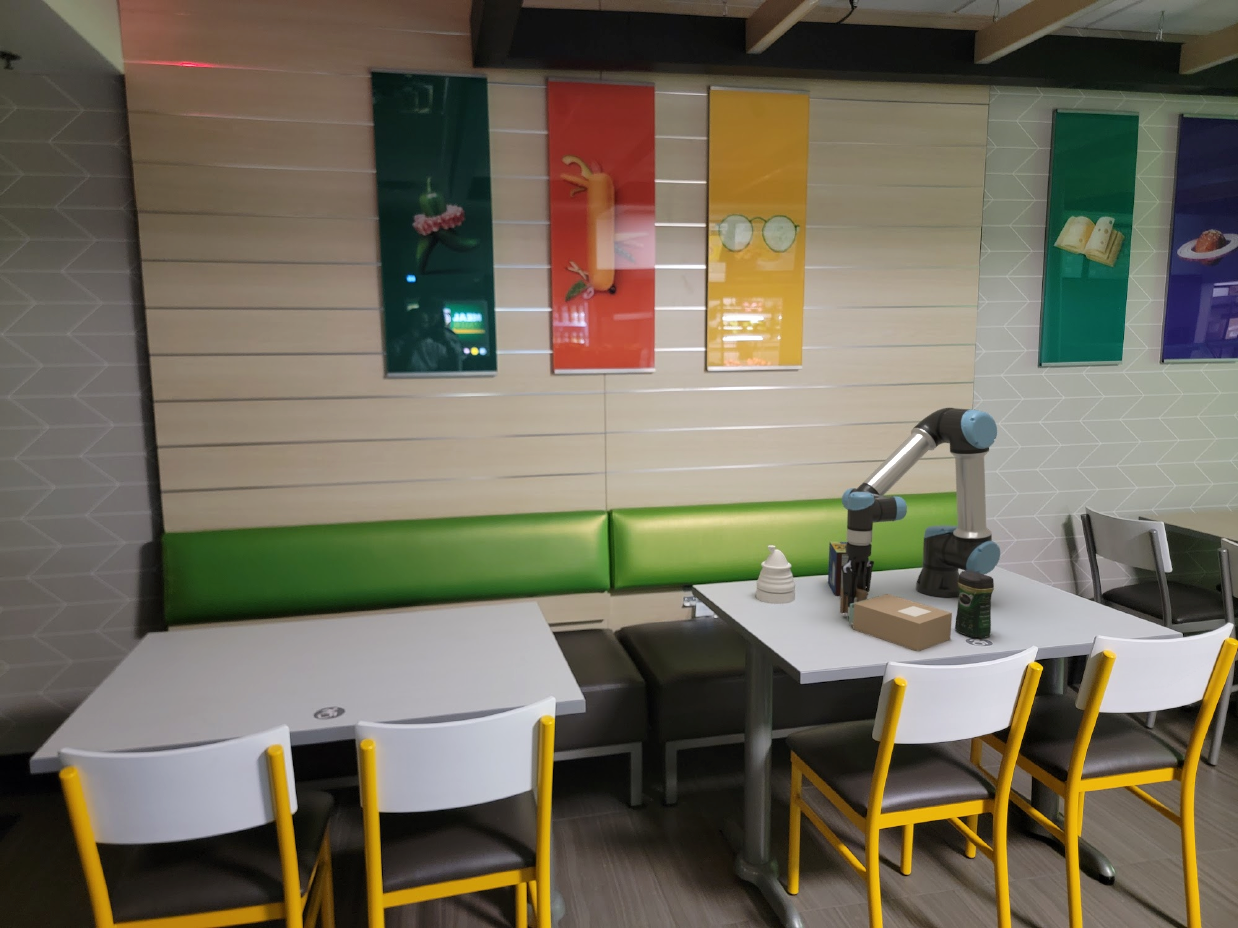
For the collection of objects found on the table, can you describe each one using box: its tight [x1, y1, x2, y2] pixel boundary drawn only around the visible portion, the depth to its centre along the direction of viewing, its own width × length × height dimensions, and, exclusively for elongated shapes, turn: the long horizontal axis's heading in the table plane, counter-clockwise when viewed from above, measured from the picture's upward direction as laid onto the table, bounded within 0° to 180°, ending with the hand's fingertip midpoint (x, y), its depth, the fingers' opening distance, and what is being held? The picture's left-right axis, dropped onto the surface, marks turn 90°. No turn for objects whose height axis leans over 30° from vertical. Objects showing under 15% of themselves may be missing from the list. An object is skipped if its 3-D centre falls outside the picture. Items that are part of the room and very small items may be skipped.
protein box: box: [827, 540, 848, 597], centre depth 282 cm, size 10×15×16 cm
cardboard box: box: [852, 593, 953, 652], centre depth 238 cm, size 16×22×8 cm
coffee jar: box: [954, 570, 995, 639], centre depth 239 cm, size 10×8×19 cm
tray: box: [839, 588, 879, 625], centre depth 243 cm, size 14×28×8 cm, turn 36°
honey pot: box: [755, 544, 796, 605], centre depth 272 cm, size 13×13×18 cm
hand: (855, 615), depth 252 cm, fingers closed on tray, 2 cm apart
